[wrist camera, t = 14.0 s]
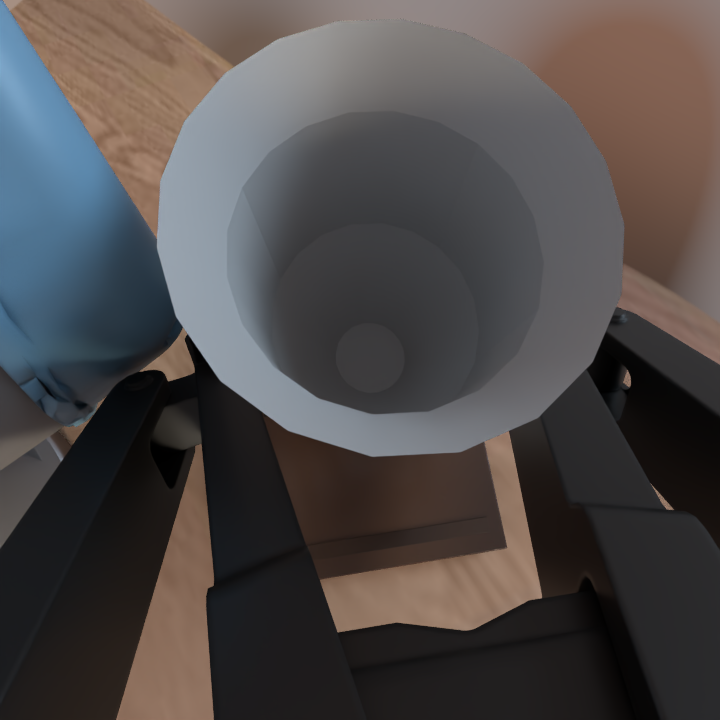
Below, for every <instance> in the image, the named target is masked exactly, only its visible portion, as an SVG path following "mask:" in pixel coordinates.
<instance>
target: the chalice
mask: <svg viewBox="0 0 720 720" xmlns="http://www.w3.org/2000/svg"><path fill="white" fill-rule="evenodd" d="M623 242H624V223H623V219H622V215H621V212H620V208H619V205H618V201H617V198H616V194H615V191H614V188H613V184H612V181H611V177H610V174H609V170H608V167H607V163H606V161H605V159H604V158H603V156H602V154H601V153H600V151H599V150H598V148H597V147H596V145H595V143H594V142H593V140H592V139H591V137H590V136H589V134H588V133H587V131H586V129H585V128H584V126H583V125H582V123H581V122H580V120H579V119H578V117H577V116H576V114H575V112H574V111H573V109H572V108H571V106H570V105H569V104H568V103H566V102H565V101H564V100H563V99H562V98H561V97H560V96H559V95H557V94H556V93H555V92H554V91H553V90H552V89H551V88H550V87H549V86H547V85H546V84H545V83H544V82H543V81H542V80H541V79H540V78H539V77H537V76H536V75H535V74H534V73H533V72H532V71H531V70H529V68H527V67H526V66H525V65H524V64H523V63H521V62H519V61H517V60H515V59H514V58H511V57H510V56H508V55H506V54H504V53H502V52H500V51H498V50H496V49H494V48H492V47H490V46H488V45H486V44H484V43H483V42H480V41H479V40H477V39H475V38H473V37H471V36H469V35H467V34H465V33H461V32H456V31H452V30H447V29H443V28H438V27H434V26H430V25H426V24H421V23H417V22H412V21H408V20H404V19H391V20H359V21H358V20H356V21H337V22H333V23H330V24H327V25H324V26H320V27H317V28H313V29H310V30H307V31H304V32H300V33H297V34H294V35H290V36H287V37H284V38H280V39H278V40H276V41H274V42H273V43H271V44H270V45H268V46H267V47H265V48H263V49H262V50H261V51H259V52H257V53H256V54H254V55H253V56H251V57H249V58H248V59H246V60H245V61H243V62H242V63H240V64H239V65H237V66H235V67H234V68H232V69H231V70H229V71H228V72H226V73H225V74H224V75H223V76H222V77H221V79H220V80H219V81H218V82H217V83H216V84H215V86H214V87H213V88H212V89H211V90H210V92H209V93H208V94H207V95H206V96H205V98H204V99H203V100H202V101H201V102H200V103H199V105H198V106H197V107H196V108H195V109H194V111H193V112H192V113H191V114H190V115H189V117H188V118H187V119H186V120H185V121H184V124H183V126H182V129H181V131H180V134H179V136H178V139H177V141H176V144H175V146H174V149H173V151H172V154H171V156H170V158H169V161H168V163H167V166H166V168H165V171H164V173H163V176H162V178H161V182H160V199H159V216H158V233H157V250H158V254H159V257H160V261H161V265H162V268H163V272H164V275H165V279H166V283H167V286H168V290H169V293H170V297H171V301H172V304H173V308H174V311H175V315H176V317H177V319H178V320H179V322H180V323H181V325H182V326H183V327H184V329H185V330H186V332H187V333H188V335H189V336H190V338H191V339H192V341H193V342H194V343H195V345H196V346H197V348H198V349H199V351H200V352H201V354H202V355H203V357H204V358H205V359H206V361H207V362H208V364H209V365H210V367H211V368H212V370H213V371H214V373H215V374H216V375H217V377H218V378H219V380H220V381H221V382H222V383H224V384H225V385H227V386H228V387H229V388H231V389H232V390H233V391H235V392H236V393H237V394H239V395H240V396H241V397H243V398H244V399H245V400H247V401H248V402H250V403H251V404H252V405H254V406H255V407H256V408H258V409H259V410H260V411H262V412H263V413H264V414H266V415H267V416H269V417H270V418H271V419H273V420H274V421H275V422H277V423H278V424H279V425H281V426H282V427H283V428H285V429H286V430H287V431H290V432H293V433H297V434H300V435H303V436H306V437H310V438H313V439H316V440H319V441H323V442H326V443H329V444H332V445H336V446H339V447H342V448H345V449H349V450H352V451H355V452H358V453H362V454H365V455H368V456H371V457H377V456H397V455H416V454H436V453H456V452H462V451H464V450H467V449H469V448H471V447H473V446H476V445H478V444H480V443H482V442H485V441H487V440H489V439H491V438H494V437H496V436H498V435H501V434H503V433H505V432H507V431H510V430H512V429H514V428H516V427H519V426H521V425H523V424H526V423H528V422H530V421H532V420H535V419H537V418H538V417H539V416H540V415H541V414H542V413H543V412H544V411H545V410H546V409H547V408H548V407H549V406H550V405H551V404H552V403H553V402H554V401H555V400H556V399H557V398H558V397H559V396H560V395H561V394H562V393H563V392H564V391H565V390H566V389H567V388H568V387H569V386H570V385H571V384H572V383H573V382H574V381H575V380H576V379H577V378H578V377H579V376H580V374H581V373H582V372H583V371H584V370H585V369H586V368H587V367H588V366H589V365H590V364H591V363H592V362H593V360H594V358H595V355H596V353H597V351H598V348H599V346H600V344H601V341H602V339H603V337H604V334H605V332H606V330H607V327H608V325H609V322H610V320H611V318H612V315H613V313H614V311H615V308H616V306H617V304H618V301H619V299H620V296H621V290H622V267H623V245H624V244H623Z"/></svg>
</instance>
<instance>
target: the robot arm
mask: <svg viewBox="0 0 720 720" xmlns="http://www.w3.org/2000/svg"><path fill="white" fill-rule="evenodd" d="M182 328H183V326H182V325H181V323H180V322H179V320H178V319H177V317H176V315H175V311H174V308H173V304H172V301H171V297H170V293H169V290H168V286H167V283H166V279H165V275H164V272H163V268H162V265H161V261H160V257H159V254H158V250H157V239H156V237H155V236H154V234H153V232H152V231H151V229H150V228H149V226H148V225H147V223H146V221H145V220H144V218H143V217H142V215H141V214H140V212H139V210H138V209H137V207H136V206H135V204H134V203H133V201H132V200H131V198H130V196H129V195H128V193H127V192H126V190H125V189H124V187H123V186H122V184H121V182H120V181H119V179H118V178H117V176H116V175H115V173H114V172H113V170H112V168H111V167H110V165H109V164H108V162H107V161H106V159H105V158H104V156H103V154H102V153H101V151H100V150H99V148H98V147H97V145H96V143H95V142H94V140H93V139H92V137H91V136H90V134H89V133H88V131H87V129H86V128H85V126H84V125H83V123H82V122H81V120H80V119H79V117H78V116H77V114H76V112H75V111H74V109H73V108H72V106H71V105H70V103H69V102H68V100H67V99H66V97H65V96H64V94H63V93H62V91H61V90H60V88H59V86H58V85H57V83H56V82H55V80H54V79H53V77H52V76H51V74H50V73H49V71H48V70H47V68H46V67H45V65H44V63H43V62H42V60H41V59H40V57H39V56H38V54H37V53H36V51H35V50H34V48H33V46H32V45H31V43H30V42H29V40H28V39H27V37H26V36H25V34H24V33H23V31H22V29H21V28H20V26H19V25H18V23H17V22H16V20H15V19H14V17H13V15H12V14H11V12H10V11H9V9H8V8H7V6H6V5H5V3H4V2H3V0H0V720H116V718H117V714H118V711H119V707H120V704H121V701H122V697H123V694H124V691H125V687H126V684H127V680H128V677H129V674H130V670H131V667H132V663H133V660H134V657H135V653H136V650H137V647H138V643H139V640H140V636H141V633H142V630H143V626H144V623H145V619H146V616H147V613H148V609H149V606H150V602H151V599H152V596H153V592H154V589H155V586H156V582H157V579H158V575H159V572H160V569H161V565H162V562H163V558H164V555H165V552H166V548H167V545H168V542H169V538H170V535H171V531H172V528H173V525H174V521H175V518H176V514H177V511H178V508H179V504H180V501H181V497H182V494H183V491H184V487H185V484H186V481H187V477H188V474H189V470H190V467H191V464H192V460H193V457H194V453H195V446H196V445H199V444H202V452H203V463H204V473H205V484H206V495H207V505H208V516H209V526H210V537H211V548H212V558H213V569H214V586H213V587H210V588H208V591H207V596H206V611H207V625H208V640H209V654H210V668H211V682H212V697H213V711H214V720H720V365H719V364H717V363H716V362H714V361H712V360H711V359H709V358H707V357H706V356H704V355H702V354H701V353H699V352H698V351H696V350H694V349H693V348H691V347H689V346H688V345H686V344H684V343H683V342H681V341H679V340H678V339H676V338H675V337H673V336H671V335H670V334H668V333H666V332H665V331H663V330H661V329H660V328H658V327H656V326H655V325H653V324H651V323H650V322H648V321H647V320H645V319H643V318H642V317H640V316H638V315H637V314H634V313H632V312H630V311H626V310H622V309H621V308H617V307H616V308H615V311H614V313H613V315H612V318H611V320H610V322H609V325H608V327H607V330H606V332H605V334H604V337H603V339H602V341H601V344H600V346H599V348H598V351H597V353H596V355H595V358H594V360H593V362H592V363H591V364H590V365H589V366H588V367H587V368H586V369H585V370H584V371H583V372H582V373H581V374H580V376H579V377H578V378H577V379H576V380H575V381H574V382H573V383H572V384H571V385H570V386H569V387H568V388H567V389H566V390H565V391H564V392H563V393H562V394H561V395H560V396H559V397H558V398H557V399H556V400H555V401H554V402H553V403H552V404H551V405H550V406H549V407H548V408H547V409H546V410H545V411H544V412H543V413H542V414H541V415H540V416H539V417H538V418H537V419H535V420H532V421H530V422H528V423H526V424H523V425H521V426H519V427H516V428H514V429H512V430H510V431H509V433H510V438H511V443H512V448H513V453H514V458H515V463H516V468H517V473H518V477H519V482H520V487H521V492H522V497H523V502H524V507H525V512H526V517H527V522H528V527H529V532H530V537H531V542H532V547H533V552H534V557H535V562H536V567H537V572H538V576H539V581H540V586H541V592H542V598H541V599H535V600H530V601H527V602H526V603H524V604H522V605H520V606H518V607H516V608H514V609H512V610H510V611H508V612H506V613H504V614H503V615H501V616H499V617H497V618H495V619H493V620H491V621H489V622H487V623H485V624H483V625H481V626H480V627H478V628H476V629H473V630H469V631H461V630H453V629H445V628H437V627H428V626H420V625H412V624H403V623H392V624H386V625H380V626H374V627H368V628H362V629H356V630H350V631H345V632H339V633H337V630H336V627H335V624H334V621H333V618H332V615H331V612H330V609H329V606H328V603H327V600H326V597H325V595H324V592H323V589H322V586H321V583H320V580H319V577H318V574H317V571H316V568H315V565H314V562H313V559H312V556H311V554H310V551H309V548H308V546H306V543H305V540H304V537H303V534H302V531H301V528H300V525H299V522H298V519H297V516H296V513H295V510H294V507H293V504H292V501H291V498H290V495H289V492H288V489H287V486H286V483H285V480H284V477H283V474H282V471H281V468H280V465H279V462H278V459H277V456H276V453H275V451H274V448H273V445H272V442H271V439H270V436H269V433H268V430H267V427H266V424H265V421H264V418H263V415H262V412H261V411H260V410H259V409H258V408H256V407H255V406H254V405H252V404H251V403H250V402H248V401H247V400H245V399H244V398H243V397H241V396H240V395H239V394H237V393H236V392H235V391H233V390H232V389H231V388H229V387H228V386H227V385H225V384H224V383H222V382H221V381H220V380H219V378H218V377H217V375H216V374H215V373H214V371H213V370H212V368H211V367H210V365H209V364H208V362H207V361H206V359H205V358H204V357H203V355H202V354H201V352H200V351H199V349H198V348H197V346H196V345H195V343H194V342H193V341H192V339H191V338H190V336H189V335H187V336H186V338H185V342H186V344H187V347H188V350H189V353H190V355H191V358H192V361H193V363H194V367H195V373H193V374H191V375H188V376H186V377H183V378H179V379H176V380H173V381H169V382H168V381H167V378H166V376H165V374H164V373H163V372H162V371H158V370H147V371H143V372H139V371H140V370H142V369H143V368H144V367H146V366H147V365H148V364H150V363H151V362H152V361H154V360H155V359H156V358H157V357H159V356H160V355H161V354H163V353H164V352H165V351H166V350H167V349H168V348H169V347H170V346H171V345H172V344H173V342H174V341H175V340H176V339H177V337H178V336H179V334H180V332H181V330H182ZM627 370H628V371H629V374H630V376H631V386H630V388H629V387H628V386H626V385H625V384H624V383H623V381H624V378H625V374H626V371H627ZM106 396H107V397H106ZM105 397H106V398H105ZM103 398H105V400H104V401H103V403H102V404H101V405H100V407H99V408H98V410H97V411H96V408H97V404H98V402H100V401H101V400H102V399H103ZM95 412H96V413H95ZM94 413H95V414H94ZM93 414H94V415H93ZM92 415H93V417H92V418H91V420H90V421H89V423H88V424H87V425H86V427H85V428H84V430H83V431H82V433H81V434H80V435H79V437H78V438H77V440H76V441H75V443H74V444H73V445H72V447H71V445H70V444H69V443H68V442H67V441H66V439H65V438H64V437H63V436H62V435H61V434H60V433H59V432H58V430H59V429H61V428H62V427H64V426H67V427H70V426H75V427H77V426H79V425H80V424H82V423H84V422H86V421H87V420H88V419H89V418H90V417H91V416H92ZM264 416H265V417H267V415H266V414H264ZM651 484H652V485H653V486H654V488H655V489H656V490H657V491H658V492H659V493H660V494H661V495H662V496H663V498H664V499H665V500H666V501H667V502H668V503H669V504H670V505H671V507H672V508H673V509H674V510H666V508H665V507H664V506H663V504H662V503H661V501H660V499H659V498H658V496H657V494H656V492H655V490H654V489H653V487H652V485H651Z"/></svg>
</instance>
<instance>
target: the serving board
mask: <svg viewBox="0 0 720 720" xmlns="http://www.w3.org/2000/svg"><path fill="white" fill-rule="evenodd" d="M261 412H262V411H261ZM262 415H263V418H264V421H265V424H266V427H267V430H268V433H269V436H270V439H271V442H272V445H273V448H274V451H275V453H276V456H277V459H278V462H279V465H280V468H281V471H282V474H283V477H284V480H285V483H286V486H287V489H288V492H289V495H290V498H291V501H292V504H293V507H294V510H295V513H296V516H297V519H298V522H299V525H300V528H301V531H302V534H303V537H304V540H305V543H306V546H308V548H309V551H310V554H311V556H312V559H313V562H314V565H315V568H316V571H317V574H318V577H319V580H320V579H326V578H332V577H338V576H344V575H350V574H356V573H362V572H368V571H374V570H380V569H386V568H392V567H398V566H404V565H410V564H416V563H422V562H428V561H434V560H440V559H446V558H453V557H459V556H465V555H471V554H477V553H483V552H489V551H495V550H501V549H506V548H507V545H506V540H505V535H504V531H503V526H502V522H501V517H500V512H499V508H498V503H497V499H496V494H495V489H494V485H493V480H492V475H491V471H490V466H489V462H488V457H487V452H486V448H485V443H484V442H482V443H480V444H478V445H476V446H473V447H471V448H469V449H467V450H464V451H462V452H456V453H436V454H416V455H397V456H377V457H371V456H368V455H365V454H362V453H358V452H355V451H352V450H349V449H345V448H342V447H339V446H336V445H332V444H329V443H326V442H323V441H319V440H316V439H313V438H310V437H306V436H303V435H300V434H297V433H293V432H290V431H287V430H286V429H285V428H283V427H282V426H281V425H279V424H278V423H277V422H275V421H274V420H273V419H271V418H270V417H269V416H267V417H265V416H264V413H263V412H262Z"/></svg>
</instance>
